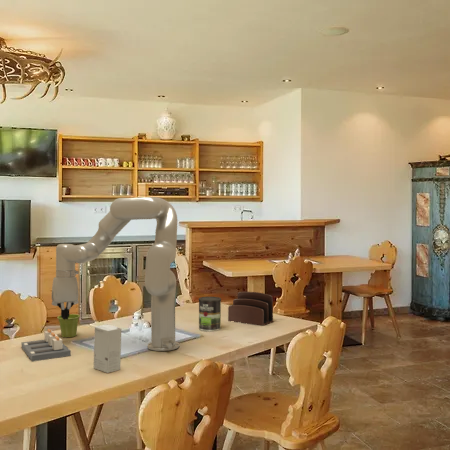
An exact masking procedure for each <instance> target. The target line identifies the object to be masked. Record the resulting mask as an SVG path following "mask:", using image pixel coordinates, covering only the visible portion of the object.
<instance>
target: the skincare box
mask: <svg viewBox="0 0 450 450" xmlns="http://www.w3.org/2000/svg"><path fill="white" fill-rule="evenodd" d="M93 338H94V339H93V340H94V343H93V369H95V370H98V371H101V372H103V373H106V374H107V373H108V374H109V373H112V372H116V371H119V370H120V371H121V359H122V352H121V351H122V328H120V327H118V326H116V325H111V324H102V325H101V324H100V325H96V326H94V337H93Z"/></svg>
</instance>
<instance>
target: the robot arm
mask: <svg viewBox="0 0 450 450" xmlns="http://www.w3.org/2000/svg"><path fill="white" fill-rule="evenodd" d="M133 220H135V221H137V220H156V226H155V231H154V232H155V233H154V234H155V235H154V243H153V244H152V245H150V247H149V248H148V250H147V253H146V258H145V271H144V273H145V274H144V286H145V289H146V292H147V293H148V294H150V295H151V299H150V300H151V301H150V303H151V304H150V306H151V307H150V311H151V312H150V323H151V324H150V326H151V327H150V328H151V329H150V330H151V332H150V336H151V341H150V342H149V343H148V344H147V349H149V350H150V351H154V352H168V351H169V352H170V351H174V350H177V349H179V348H180V343H179V342H178V341H176V294H177V293H176V291H177V278H176V275H175V273H174V272H173V271H172V270H171V265H172V263H173V262H174V261H175V260H176V257H177V240H178V215H177V211H176V210H175V207H174V205H172V204H171V203H170V202H169V201H167V200H166V199H165V198H162V197H156V196H145V197H144V196H143V197H118V198H116V199H114V200H113V201H112V202H111V204H110V206H109V211H108V213H106V215H105V216H103V218H102V219H100V221H99V222H98V228H97V231H96V233H95V234H94V235H93V236H92V237H91V238H90V239H89V241H87V242H86V243H81V244H77V245H76V244H71V243H59V244H57V246H56V249H55V277H53V279H52V287H51V300H52V301H51V305H52V306H54V307H55V306H56V307H58V308H59V309H60V316H61V317H62V318H63V319H64V320H65V319H68V317H69V314H70V310H71V309H72V307H73V306H74V305H78V304H79V301H80V300H79V293H80V291H79V284H78V278H77V275H79V273H80V272H79V270H76V264H85V263H88V262H91V261H94V260H96V259H97V258H98V257H99V256H101V254H102V253H103V252H104V251H105V250H106V249H107V248H108V247H109V246H110V245H111V243H112V242H113V241H114V239H115V237H116V236H117V235H118V234H119V233H120V232H121V231H122V230H123V229H124V228H125V227H126V226H127V225H128V224H129V223H130V222H131V221H133ZM65 303H66V304H65Z"/></svg>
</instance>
